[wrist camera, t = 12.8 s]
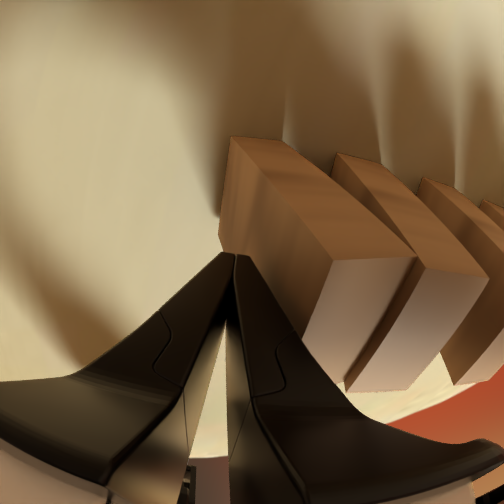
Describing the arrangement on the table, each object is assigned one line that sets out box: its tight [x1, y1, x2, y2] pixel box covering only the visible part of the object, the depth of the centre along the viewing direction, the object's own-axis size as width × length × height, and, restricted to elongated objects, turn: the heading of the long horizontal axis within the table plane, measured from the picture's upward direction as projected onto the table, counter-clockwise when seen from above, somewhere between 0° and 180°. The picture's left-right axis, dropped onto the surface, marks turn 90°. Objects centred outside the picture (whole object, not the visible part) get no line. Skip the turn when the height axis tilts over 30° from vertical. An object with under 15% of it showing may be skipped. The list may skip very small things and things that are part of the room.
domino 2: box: [330, 153, 490, 393], centre depth 11 cm, size 5×2×9 cm, turn 171°
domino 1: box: [218, 136, 418, 384], centre depth 11 cm, size 5×2×9 cm, turn 171°
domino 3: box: [416, 177, 504, 386], centre depth 11 cm, size 5×2×9 cm, turn 171°
